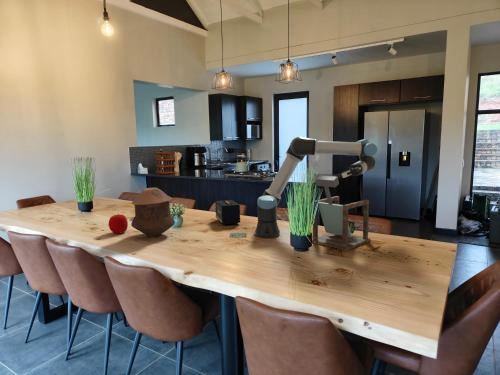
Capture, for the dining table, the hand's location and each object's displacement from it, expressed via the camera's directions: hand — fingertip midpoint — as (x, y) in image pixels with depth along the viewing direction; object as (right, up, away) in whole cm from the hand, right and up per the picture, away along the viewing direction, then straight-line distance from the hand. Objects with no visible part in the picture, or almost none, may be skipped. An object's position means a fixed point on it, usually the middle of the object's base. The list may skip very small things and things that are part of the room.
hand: (334, 178), depth 196 cm
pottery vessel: (-109, -35, +17) cm, 115 cm away
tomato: (-134, -35, +25) cm, 140 cm away
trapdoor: (-6, -16, -14) cm, 23 cm away
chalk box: (-1, -25, 0) cm, 25 cm away
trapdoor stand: (+2, -35, -4) cm, 36 cm away
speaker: (-65, -30, +48) cm, 86 cm away
